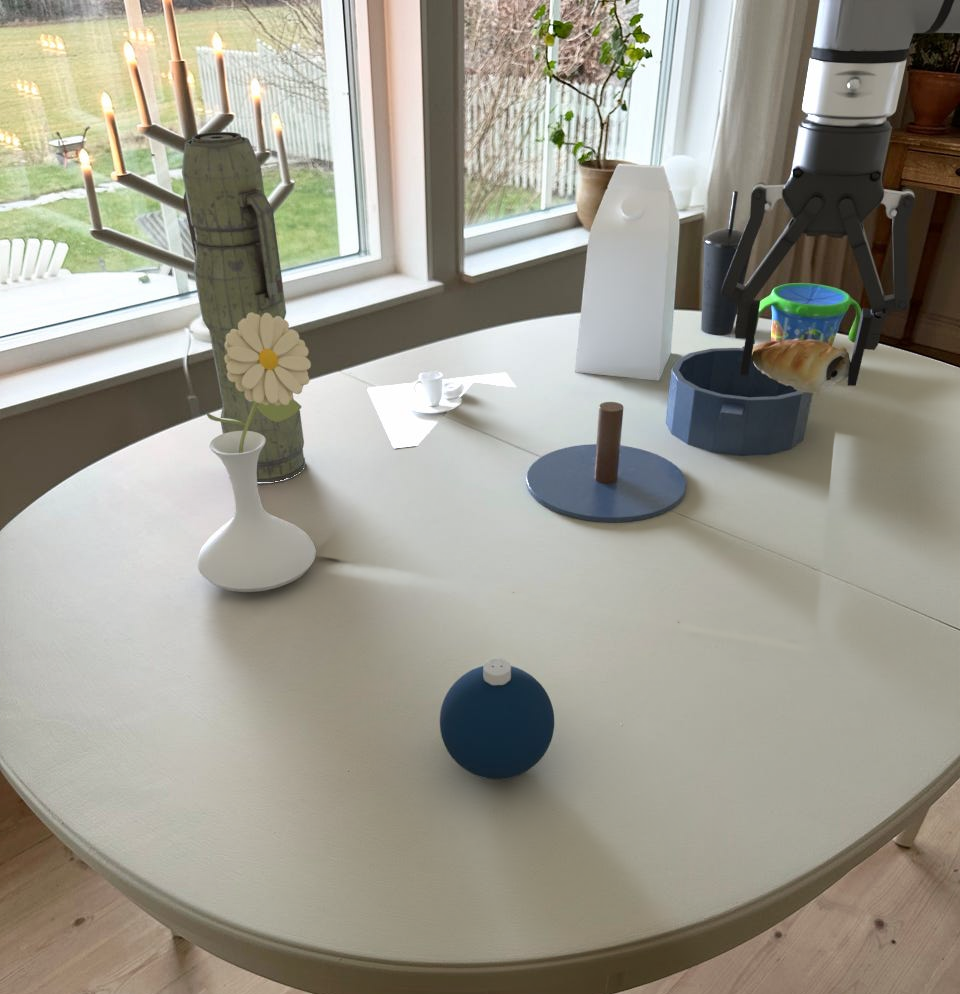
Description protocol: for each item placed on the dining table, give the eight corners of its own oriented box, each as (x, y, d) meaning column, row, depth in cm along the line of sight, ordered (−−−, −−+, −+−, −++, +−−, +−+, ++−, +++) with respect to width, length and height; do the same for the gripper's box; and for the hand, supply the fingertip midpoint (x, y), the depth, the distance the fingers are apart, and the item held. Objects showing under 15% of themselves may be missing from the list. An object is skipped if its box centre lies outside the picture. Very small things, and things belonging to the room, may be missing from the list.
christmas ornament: (546, 724, 76) (550, 621, 70) (558, 801, 69) (564, 695, 63) (441, 727, 76) (436, 625, 70) (442, 805, 69) (437, 699, 63)
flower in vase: (210, 614, 88) (153, 349, 73) (192, 554, 97) (137, 306, 82) (347, 584, 92) (319, 326, 77) (318, 529, 101) (287, 287, 86)
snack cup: (842, 352, 141) (858, 282, 135) (862, 379, 133) (880, 305, 126) (735, 352, 142) (746, 281, 136) (748, 378, 133) (761, 305, 127)
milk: (671, 352, 142) (692, 159, 126) (658, 380, 133) (680, 177, 117) (591, 344, 145) (603, 155, 129) (574, 371, 136) (584, 172, 120)
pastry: (734, 371, 95) (739, 333, 93) (774, 355, 99) (780, 318, 97) (815, 398, 90) (823, 358, 87) (855, 380, 93) (864, 341, 91)
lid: (696, 464, 112) (707, 385, 106) (670, 538, 99) (681, 452, 93) (549, 444, 117) (552, 367, 111) (506, 512, 103) (506, 429, 97)
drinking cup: (715, 318, 154) (733, 183, 142) (751, 331, 149) (774, 192, 137) (681, 328, 150) (697, 190, 138) (718, 341, 145) (738, 200, 133)
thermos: (255, 442, 118) (203, 124, 97) (330, 463, 113) (293, 133, 92) (204, 470, 112) (137, 138, 91) (281, 494, 107) (229, 148, 86)
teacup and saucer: (459, 389, 131) (458, 360, 128) (474, 412, 125) (473, 382, 122) (396, 396, 129) (394, 367, 127) (408, 419, 123) (406, 389, 121)
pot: (808, 404, 126) (820, 348, 121) (797, 478, 109) (810, 416, 105) (681, 389, 130) (687, 335, 126) (651, 458, 113) (657, 398, 109)
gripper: (708, 120, 80) (679, 378, 94) (994, 129, 75) (919, 401, 88) (718, 107, 86) (689, 352, 99) (984, 115, 80) (915, 372, 94)
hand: (797, 375), depth 94 cm, fingers closed on pastry, 9 cm apart
